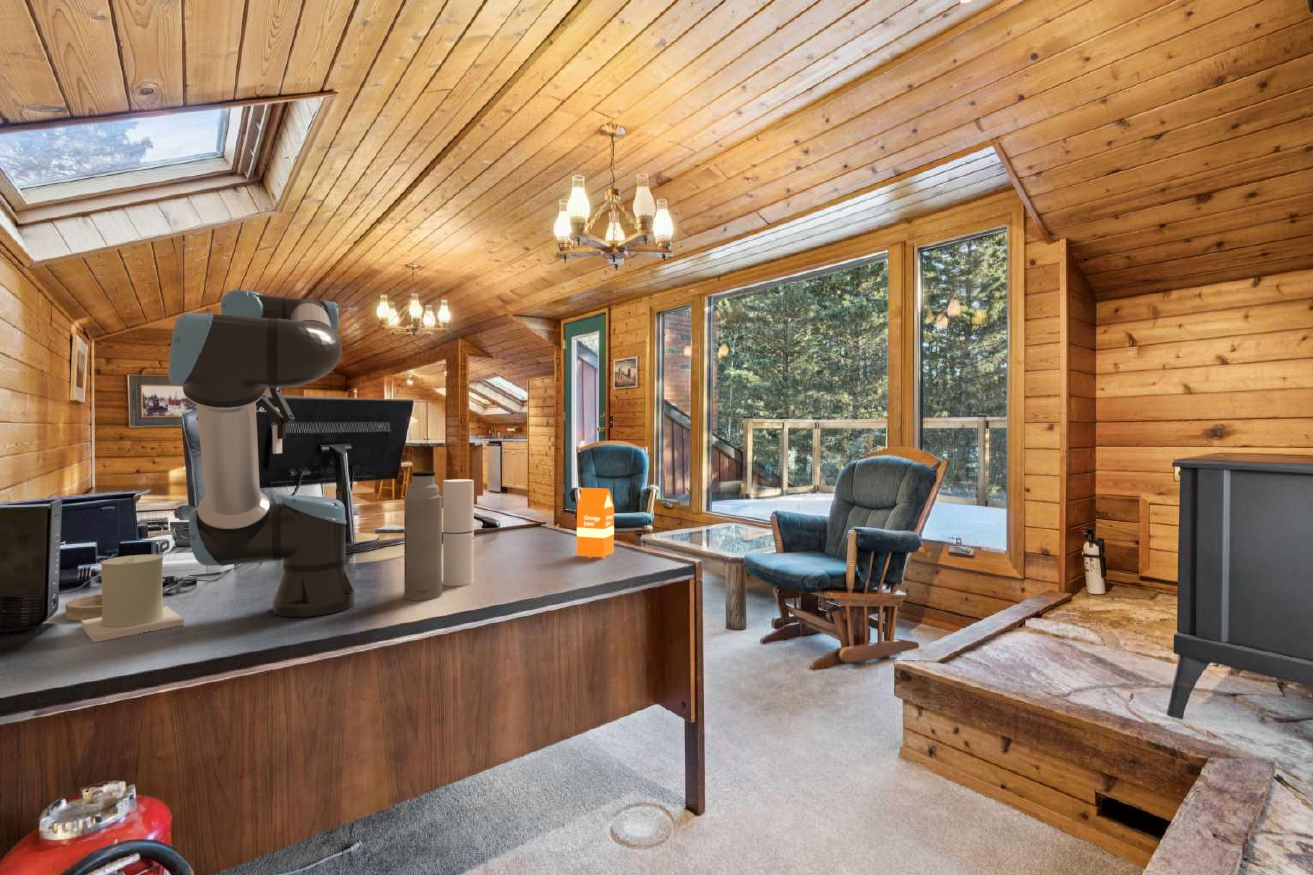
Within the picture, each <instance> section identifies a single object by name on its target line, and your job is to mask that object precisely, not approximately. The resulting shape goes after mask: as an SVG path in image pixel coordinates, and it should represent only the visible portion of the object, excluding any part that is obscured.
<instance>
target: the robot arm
mask: <svg viewBox="0 0 1313 875" xmlns="http://www.w3.org/2000/svg"><path fill="white" fill-rule="evenodd" d="M220 313H221V314H215V313H213V312H208V313H207V312H206V313H204V312H203V313H202V312H201V313H200V312H199V313H198V312H197V313H196V312H185V313H182V314H181V315H179V316H178V317H177V318H176V320H175V322H174V324H173V325H174V326H173V330H172V337H171V344H170V350H169V359H168V381H169V383H170V384H171V385H173V386H174V385H176V386H177V387H182V391H183V394H184V397H185V398H186V399H187V400H188V401H189V402H191V403H193V404H195V407H196V417H195V418H196V421H197V425H198V435H199V444H200V453H201V461H202V462H201V463H202V472H203V473H202V474H203V480H204V481H203V482H204V491H205V496H203V498H202V499H201V500H200V502H199V504H197V507H194V508H193V509H191V511H190V514H189V518H188V519H189V520H188V531H189V533H188V534H189V537H190V540H189V541H190V548H191V551H192V554H193V557H194V558H195V560H196V561H197V562H198V563H199V564H201V565H203V566H207V567H208V566H209V567H210V566H211V567H212V566H220V567H224V566H232V565H240V564H241V565H242V564H254V563H265V562H276V561H282V575H281V578H280V580H279V581H280V582H279V584H278V586H277V590H276V592H275V595H274V598H273V602H272V612H273V614H275V615H277V616H280V617H287V618H288V617H289V618H304V617H305V618H306V617H317V616H323V615H330V614H333V613H337V612H341V611H345V610H347V609H349V608H351V607H353V606H354V605H355V603H356V602H355V601H356V600H355V599H356V598H355V597H356V596H355V595H356V594H355V590H354V587H353V585H352V581H351V579H350V576H349V573H348V571H347V565H346V563H347V562H346V560H347V559H346V554H347V552H346V525H347V519H346V507H345V505H344V503H343V502H342V501H341V500H339V499H335V498H330V497H324V496H313V495H285V496H283V497H282V499H281V503H279V502H278V503H270V501H269V498H268V496H267V495H266V494H265V493H264V492H262V491H261V490H260V486H261V485H260V470H259V469H260V468H259V467H260V466H259V447H258V446H259V445H258V443H259V442H258V422H257V405H256V404H257V403H258V405H260V407H261V408H262V409H263V410H264V411H265V412H266V413H267V415H269V416H270V418H271V419H272V420H273V421H274V422H275V424H272V454H274V455H275V454H277V455H278V454H283V439H286V438H287V425H288V424H290V423H294V422H295V421H296V418H295V416H294V414H293V412H292V410H291V408H290V406H289V404H288V403H287V401H286V399H285V397H284V395H283V393H282V391H281V390H282V389H286V388H287V389H288V388H289V389H290V388H296V387H300V386H305V385H307V384H308V385H309V384H311V383H314V382H316V381H318V380H320V379H322V378H324V377H326V376H327V375H329V374H330V373H331V372H332V371H333V370H334V369H335V368H336V367H338V364H339V362H340V361H341V358H342V355H343V344H342V341H341V337H340V336H339V334H338V331H339V306H338V303H336V302H335V301H328V300H324V299H313V298H312V299H310V298H299V297H297V298H296V297H286V296H278V295H267V294H262V293H261V292H260V293H259V292H257V291H252V290H246V289H233V290H229V291H228V292H227V293H226V294H224V296H222V299H221V302H220ZM266 390H267V391H268V392H270V395H271V396H272V398H273V401H274V403H275V404H276V406H277V408H276V407H275V406H274V405H273V403H272V402H271V401H270V400H269V397H267V395H266V394H265V392H266Z"/></svg>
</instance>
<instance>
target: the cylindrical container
mask: <svg viewBox="0 0 1313 875" xmlns="http://www.w3.org/2000/svg"><path fill="white" fill-rule="evenodd" d="M442 481H443V482H442V486H443V487H442V585H444V586H448V587H460V586H461V587H463V586H467V585H471V584H473V583H474V580H475V579H474V577H475V576H474V574H475V573H474V572H475V571H474V569H475V568H474V564H475V563H474V562H475V560H474V559H475V558H474V554H475V553H474V552H475V551H474V550H475V549H474V548H475V536H474V534H475V532H474V531H475V529H474V528H475V527H474V526H475V525H474V524H475V520H474V519H475V517H474V516H475V513H474V512H475V507H474V506H475V504H474V503H475V496H474V495H475V494H474V493H475V491H474V490H475V488H474V487H475V486H474V485H475V481H474V479H470V478H469V479H464V478H463V479H462V478H459V479H458V478H457V479H456V478H455V479H444V480H442Z"/></svg>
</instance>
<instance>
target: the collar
mask: <svg viewBox="0 0 1313 875" xmlns="http://www.w3.org/2000/svg"><path fill="white" fill-rule="evenodd" d="M64 608H65V617H66V619H67V620H68V621H70V620H71V621H79V622H81V620H87V619H93V618H99V617H102V593H96V594H91V595H87V596H83V597H78V598H74V599H72V600H70V601H68V602H66V603H65V607H64Z"/></svg>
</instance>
